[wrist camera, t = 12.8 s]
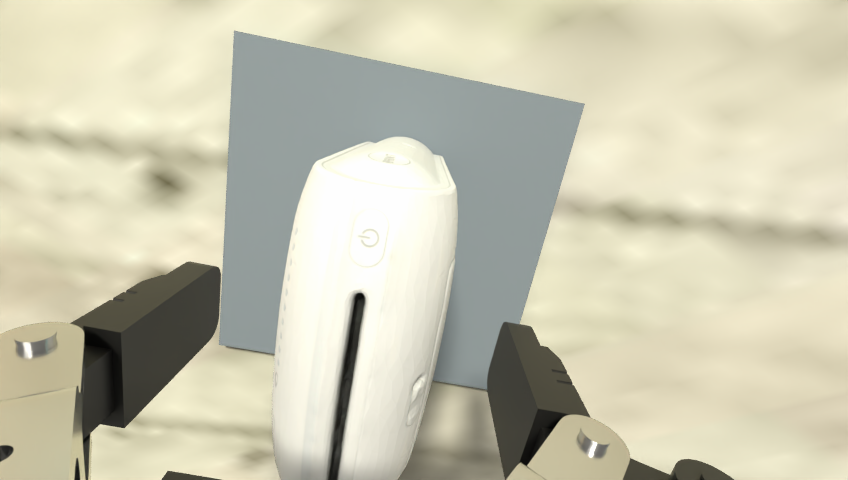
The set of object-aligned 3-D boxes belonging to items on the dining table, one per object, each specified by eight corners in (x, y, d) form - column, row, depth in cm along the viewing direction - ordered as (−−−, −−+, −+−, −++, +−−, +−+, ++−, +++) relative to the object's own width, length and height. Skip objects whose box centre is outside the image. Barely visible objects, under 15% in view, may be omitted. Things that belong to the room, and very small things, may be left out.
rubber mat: (240, 33, 18) (234, 30, 18) (579, 104, 19) (584, 103, 19) (224, 339, 23) (219, 344, 22) (497, 384, 24) (499, 391, 23)
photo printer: (361, 125, 19) (256, 145, 7) (451, 142, 19) (494, 190, 7) (335, 319, 22) (230, 559, 10) (413, 332, 22) (399, 582, 10)
